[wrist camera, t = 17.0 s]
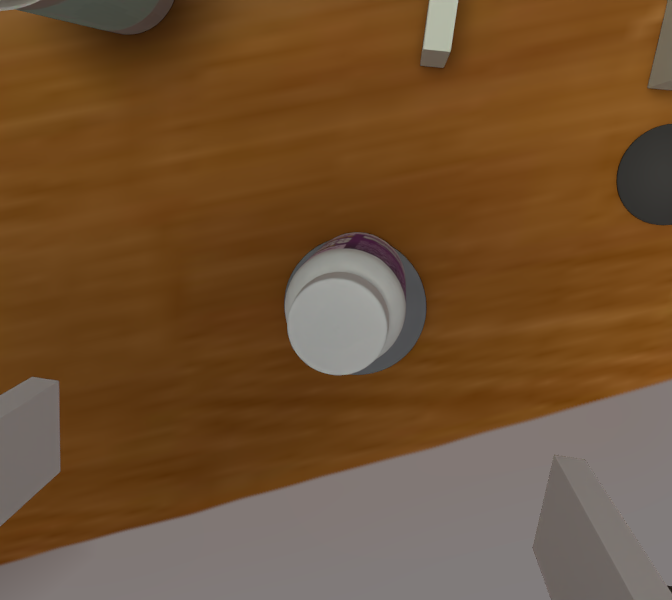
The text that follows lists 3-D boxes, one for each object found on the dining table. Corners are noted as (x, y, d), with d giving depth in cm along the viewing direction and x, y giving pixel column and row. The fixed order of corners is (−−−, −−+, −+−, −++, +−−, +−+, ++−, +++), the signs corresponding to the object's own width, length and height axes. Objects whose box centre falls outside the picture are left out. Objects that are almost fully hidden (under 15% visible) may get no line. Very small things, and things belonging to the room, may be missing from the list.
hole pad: (606, 218, 29) (607, 218, 29) (629, 118, 28) (630, 118, 27) (706, 230, 28) (707, 230, 28) (734, 129, 27) (735, 129, 27)
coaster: (280, 361, 33) (278, 363, 32) (292, 227, 31) (290, 228, 30) (414, 381, 32) (414, 384, 32) (436, 245, 30) (436, 246, 30)
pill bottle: (341, 211, 30) (314, 231, 21) (424, 264, 30) (434, 307, 21) (291, 293, 31) (244, 346, 22) (370, 343, 31) (357, 416, 22)
